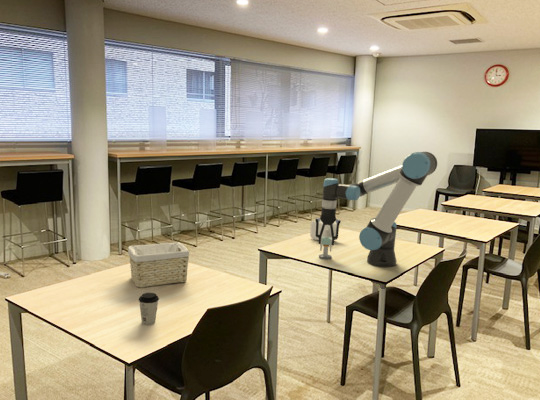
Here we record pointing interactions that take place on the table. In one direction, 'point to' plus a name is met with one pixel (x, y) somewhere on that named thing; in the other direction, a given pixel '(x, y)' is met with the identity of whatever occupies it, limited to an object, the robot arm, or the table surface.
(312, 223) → the cable organizer
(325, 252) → the post
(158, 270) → the storage basket
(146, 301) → the coffee cup
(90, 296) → the table surface
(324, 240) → the sleeve
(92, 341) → the table surface
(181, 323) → the table surface
